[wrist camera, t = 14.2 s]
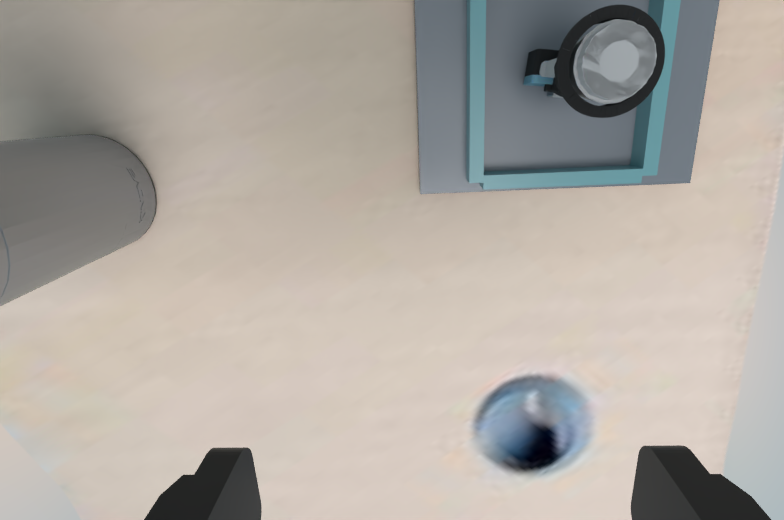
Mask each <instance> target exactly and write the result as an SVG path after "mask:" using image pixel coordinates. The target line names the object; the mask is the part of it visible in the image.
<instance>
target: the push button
mask: <svg viewBox="0 0 784 520" xmlns="http://www.w3.org/2000/svg"><path fill="white" fill-rule="evenodd" d="M600 23H602V24H600ZM595 24H600V25H598V26H597V27H596V28H594V29H593V30H592V31H591V32H589V33H588V34H586V35H585V36H583V37H582V38H581V39H580V40H579V38H580V37H581V36H582V35H583V34H584V33H585V32H586V31H587V30H588V29H589V28H590V27H592V26H593V25H595ZM578 40H579V41H578ZM577 41H578V42H577ZM664 61H665V44H664V39H663V36H662V33H661V31H660V28H659V27H658V25H657V23H656V22H655V21H654V20H653V18H652V17H650V16H649V15H648V14H647V13H646V12H644V11H642V10H641V9H639V8H636V7H633V6H629V5H610V6H605V7H602V8H600V9H597V10H595V11H593V12H591V13H589V14H588V15H586V16H585V17H583V18H582V19H581V20H579V21H578V22H577V23H576V24H575V25H574V26H573V27H572V28H571V30H570V31H569V32H568V34H567V35H566V37H565V38H564V40H563V42H562V44H561V47H560V49H559V50H551V49H535V50H533V51H531V52H529V54H528V60H527V66H526V72H525V78H524V84H523V85H527V86H543V87H544V91H545V92H553V95H549V96H548V97H555V98H564V100H565V101H566V102H567V103H568V104H569V105H570V106H571V107H572V108H573V109H574V110H576V111H577V112H579V113H581V114H583V115H586V116H590V117H596V118H609V117H615V116H619V115H621V114H624V113H626V112H628V111H630V110H632V109H634V108H635V107H637V106H638V105H639V104H640V103H642V102H643V101H644V100H645V99H646V98H647V97H648V96H649V94H650V93H651V92H652V91H653V89H654V87H655V86H656V84H657V82H658V80H659V78H660V76H661V73H662V70H663V66H664ZM582 98H584V99H586V100H589V101H592V100H593V101H596V102H598V103H601V104H605V105H602V106H597V105H593V104H590V103H588V102H587V101H585V100H584V99H582Z"/></svg>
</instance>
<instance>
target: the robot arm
mask: <svg viewBox="0 0 784 520" xmlns="http://www.w3.org/2000/svg"><path fill="white" fill-rule="evenodd" d="M155 207H156V199H155V191H154V188H153V184H152V181H151V179H150V177H149V175H148V173H147V171H146V169H145V167H144V166H143V165H142V164H141V162H140V161H139V160H138V159H137V157H136V156H135V155H133V154H132V153H131V152H130V151H129V150H128V149H127V148H125V147H124V146H122V145H120V144H119V143H117V142H115V141H113V140H110V139H108V138H105V137H102V136H96V135H76V136H63V137H50V138H36V139H24V140H12V141H0V306H2V305H4V304H6V303H8V302H10V301H12V300H14V299H16V298H18V297H20V296H22V295H25V294H27V293H29V292H31V291H33V290H35V289H37V288H39V287H41V286H43V285H45V284H47V283H49V282H52V281H54V280H56V279H58V278H60V277H62V276H64V275H66V274H68V273H70V272H72V271H74V270H76V269H78V268H81V267H83V266H85V265H87V264H89V263H91V262H93V261H95V260H97V259H99V258H102V257H104V256H106V255H108V254H110V253H112V252H114V251H116V250H118V249H120V248H122V247H124V246H126V245H128V244H130V243H132V242H134V241H136V240H138V239H139V238H140V237H141V236H142V235H143V234H145V233H146V231H147V230H148V228H149V227H150V225H151V223H152V220H153V218H154V215H155ZM631 515H632V520H771V519H770V518H769V516H768V515H767V514H766V513H765V512H764V511H763V510H762V509H761V507H760V506H759V505H758V504H757V503H756V501H755V500H754V499H753V498H752V497H751V496H750V495H748V494H747V493H746V492H744V491H743V490H742V489H740V488H739V487H738V486H736V485H735V484H733V483H732V482H731V481H729V480H728V479H726V478H725V477H724V476H722V475H721V474H709V472H708V471H707V470H706V469H705V467H704V466H703V465H702V464H701V462H700V461H699V460H698V459H697V457H696V456H695V455H694V454H693V453H692V451H691V450H690V449H688V448H687V447H685V446H643V447H642V448H641V449H640V451H639V455H638V462H637V468H636V475H635V481H634V488H633V494H632V501H631ZM144 520H261V500H260V495H259V489H258V484H257V478H256V473H255V467H254V462H253V456H252V453H251V450H250V449H249V448H212V449H211V450H210V451H209V452H208V453H207V454H206V456H205V458H204V459H203V461H202V463H201V464H200V466H199V468H198V470H197V471H196V473H195V475H183V476H181V477H180V478H179V479H178V480H177V481H176V482H175V483H174V484H172V485H171V486H170V487H169V488H168V489H167V490H166V491H165V492H163V493H162V494H161V495H160V496H159V498H158V499H157V501H156V502H155V504H154V505H153V507H152V509H151V510H150V512H149V513H148V515H147V516H146V518H145V519H144Z"/></svg>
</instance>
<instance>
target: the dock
mask: <svg viewBox="0 0 784 520" xmlns="http://www.w3.org/2000/svg"><path fill="white" fill-rule="evenodd" d="M610 5H629V6H633V7H636V8H639V9H641V10H642V11H644V12H646V13H647V14H648V15H649V16H650V17H652V18H653V20H654V21H655V22H656V23H657V25H658V27H659V28H660V31H661V33H662V36H663V39H664V44H665V61H664V66H663V70H662V73H661V76H660V78H659V80H658V82H657V84H656V86H655V87H654V89H653V91H652V92H651V93H650V94H649V96H648V97H647V98H646V99H645V100H644V101H643V102H642V103H640V104H639V105H638V106H637V107H635V108H634V109H632V110H630V111H628V112H626V113H624V114H621V115H619V116H615V117H609V118H596V117H590V116H586V115H583V114H581V113H579V112H577V111H576V110H574V109H573V108H572V107H571V106H570V105H569V104H568V103H567V102H566V101H565V100H564V98H555V97H548V96H549V95H553V92H545V91H544V87H543V86H527V85H523V84H524V78H525V72H526V66H527V60H528V54H529V52H531V51H533V50H535V49H551V50H559V49H560V47H561V44H562V42H563V40H564V38H565V37H566V35H567V34H568V32H569V31H570V30H571V28H572V27H573V26H574V25H575V24H576V23H577V22H578V21H579V20H581V19H582V18H583V17H585V16H586V15H588V14H589V13H591V12H593V11H595V10H597V9H600V8H602V7H605V6H610ZM718 6H719V0H415V30H416V64H417V97H418V131H419V164H420V194H432V193H457V192H481V191H506V190H530V189H554V188H579V187H603V186H628V185H652V184H676V183H690V180H691V174H692V168H693V162H694V155H695V149H696V143H697V137H698V131H699V124H700V118H701V112H702V106H703V99H704V93H705V87H706V81H707V75H708V68H709V62H710V56H711V50H712V43H713V37H714V31H715V25H716V18H717V12H718ZM600 24H602V23H600ZM600 24H595V25H593V26H592V27H590V28H589V29H588V30H587V31H586V32H585V33H584V34H583V35H582V36H581V37H580V38H579V40H580V39H581V38H582V37H583V36H585V35H586V34H588V33H589V32H591V31H592V30H593V29H594V28H596V27H597V26H598V25H600ZM579 40H578V41H579ZM578 41H577V42H578ZM582 99H584V98H582ZM584 100H585V101H587V102H588V103H590V104H593V105H597V106H602V105H605V104H601V103H598V102H596V101H593V100H592V101H589V100H586V99H584Z"/></svg>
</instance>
